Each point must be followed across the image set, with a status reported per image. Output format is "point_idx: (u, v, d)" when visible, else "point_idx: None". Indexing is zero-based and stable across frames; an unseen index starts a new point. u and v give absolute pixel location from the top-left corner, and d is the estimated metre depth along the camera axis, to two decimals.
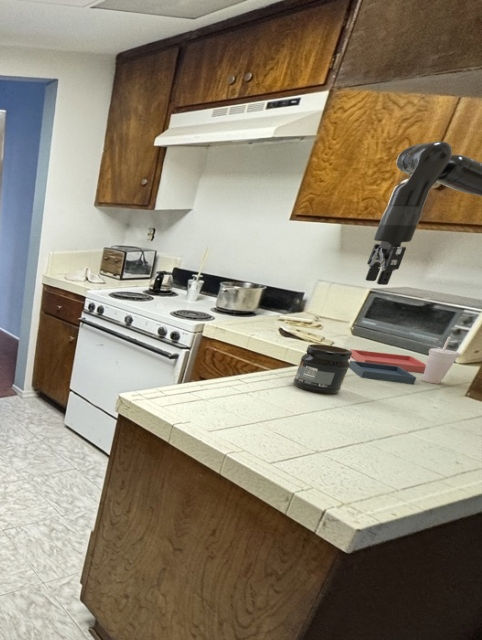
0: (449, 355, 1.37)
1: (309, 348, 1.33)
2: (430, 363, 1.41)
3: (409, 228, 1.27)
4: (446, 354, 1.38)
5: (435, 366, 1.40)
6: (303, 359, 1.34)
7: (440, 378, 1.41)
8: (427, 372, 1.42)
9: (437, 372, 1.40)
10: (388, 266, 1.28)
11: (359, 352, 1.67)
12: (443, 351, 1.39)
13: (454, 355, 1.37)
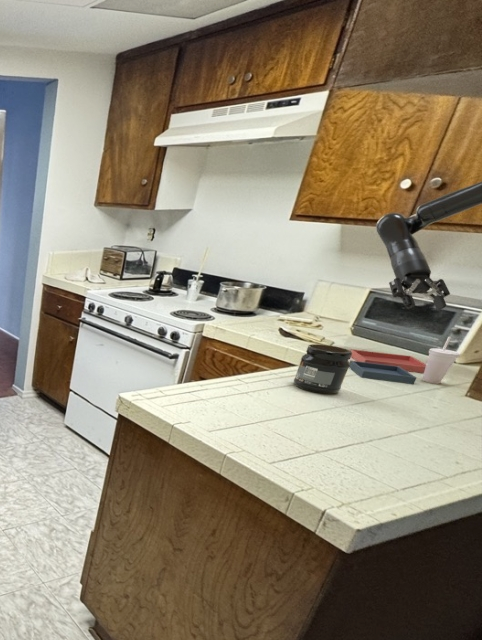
0: (449, 355, 1.37)
1: (309, 348, 1.33)
2: (430, 363, 1.41)
3: (403, 265, 1.51)
4: (446, 354, 1.38)
5: (435, 366, 1.40)
6: (303, 359, 1.34)
7: (440, 378, 1.41)
8: (427, 372, 1.42)
9: (437, 372, 1.40)
10: (393, 294, 1.50)
11: (359, 352, 1.67)
12: (443, 351, 1.39)
13: (454, 355, 1.37)
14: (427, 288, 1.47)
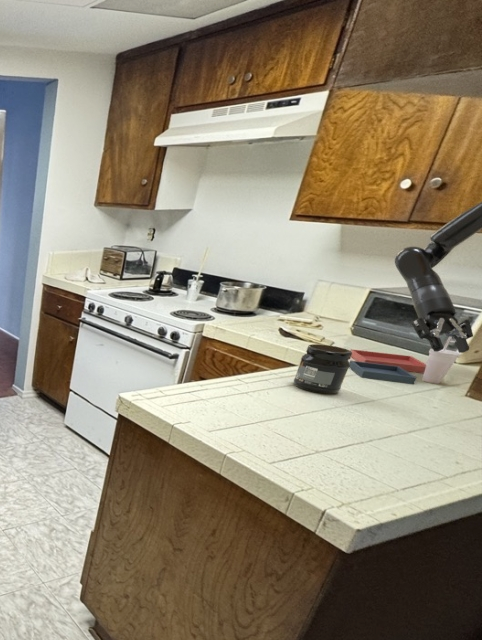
0: (449, 355, 1.37)
1: (309, 348, 1.33)
2: (431, 363, 1.41)
3: (425, 303, 1.43)
4: (446, 354, 1.38)
5: (435, 366, 1.40)
6: (303, 359, 1.34)
7: (440, 378, 1.41)
8: (427, 372, 1.42)
9: (437, 372, 1.40)
10: (419, 336, 1.41)
11: (359, 352, 1.67)
12: (443, 351, 1.39)
13: (454, 355, 1.37)
14: (451, 328, 1.39)
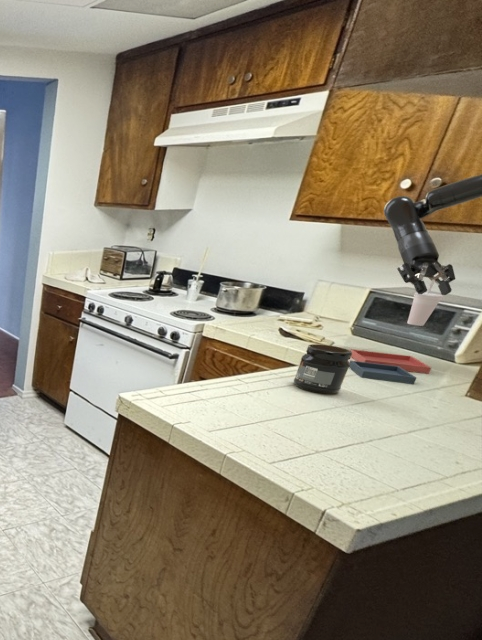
0: (433, 297, 1.44)
1: (309, 348, 1.33)
2: (415, 306, 1.48)
3: (410, 249, 1.49)
4: (430, 296, 1.44)
5: (419, 308, 1.47)
6: (303, 359, 1.34)
7: (424, 320, 1.47)
8: (412, 315, 1.49)
9: (421, 314, 1.47)
10: (404, 280, 1.48)
11: (359, 352, 1.67)
12: (427, 294, 1.46)
13: (437, 297, 1.44)
14: (435, 272, 1.46)
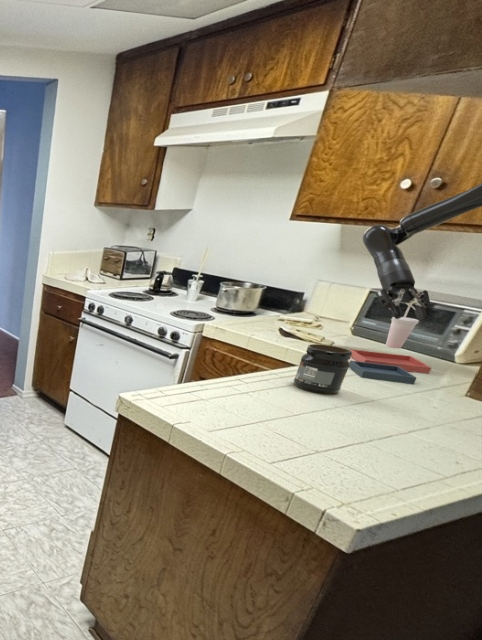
0: (408, 322, 1.51)
1: (309, 348, 1.33)
2: (392, 330, 1.55)
3: (388, 275, 1.57)
4: (406, 321, 1.52)
5: (396, 332, 1.54)
6: (303, 359, 1.34)
7: (401, 343, 1.55)
8: (389, 338, 1.56)
9: (398, 337, 1.54)
10: (382, 305, 1.55)
11: (359, 352, 1.67)
12: (404, 318, 1.53)
13: (413, 322, 1.51)
14: (411, 297, 1.54)
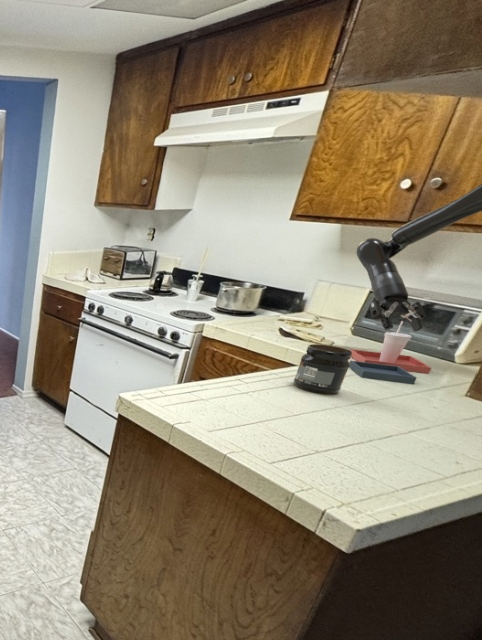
0: (401, 337, 1.53)
1: (309, 348, 1.33)
2: (386, 345, 1.57)
3: (382, 288, 1.59)
4: (399, 337, 1.54)
5: (389, 348, 1.56)
6: (303, 359, 1.34)
7: (394, 358, 1.57)
8: (383, 353, 1.58)
9: (391, 353, 1.56)
10: (372, 316, 1.58)
11: (359, 352, 1.67)
12: (396, 334, 1.55)
13: (406, 337, 1.53)
14: (405, 310, 1.55)
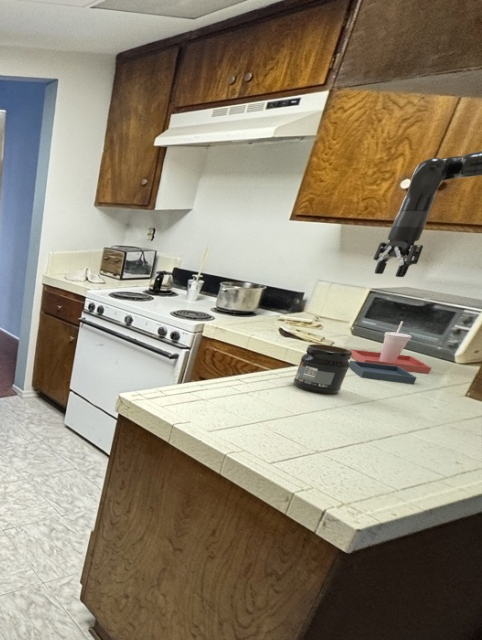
0: (401, 337, 1.53)
1: (309, 348, 1.33)
2: (386, 345, 1.57)
3: (421, 229, 1.52)
4: (399, 337, 1.54)
5: (389, 348, 1.56)
6: (303, 359, 1.34)
7: (394, 358, 1.57)
8: (383, 353, 1.58)
9: (391, 353, 1.56)
10: (410, 261, 1.52)
11: (359, 352, 1.67)
12: (396, 334, 1.55)
13: (406, 337, 1.53)
14: None
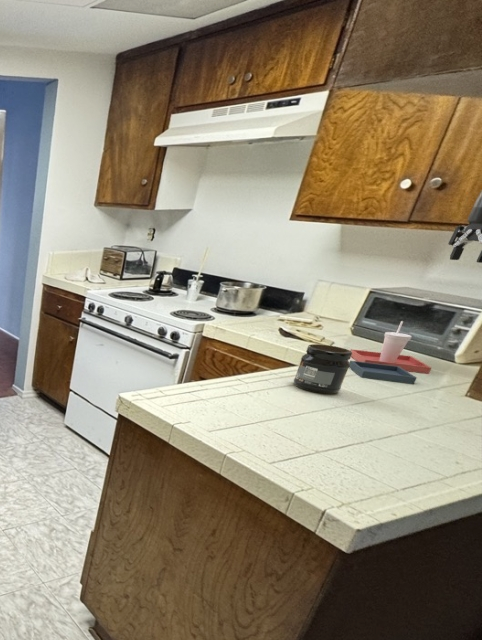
0: (401, 337, 1.53)
1: (309, 348, 1.33)
2: (386, 345, 1.57)
3: None
4: (399, 337, 1.54)
5: (389, 348, 1.56)
6: (303, 359, 1.34)
7: (394, 358, 1.57)
8: (383, 353, 1.58)
9: (391, 353, 1.56)
10: None
11: (359, 352, 1.67)
12: (396, 334, 1.55)
13: (406, 337, 1.53)
14: None
